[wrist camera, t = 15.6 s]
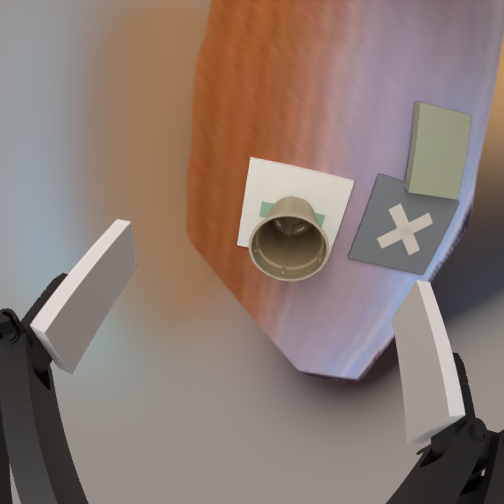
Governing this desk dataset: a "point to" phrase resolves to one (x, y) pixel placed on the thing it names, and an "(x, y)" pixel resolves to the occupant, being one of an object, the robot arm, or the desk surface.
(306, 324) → the desk surface
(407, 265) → the pad
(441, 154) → the notebook
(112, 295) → the robot arm
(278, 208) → the flower pot
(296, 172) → the pad
